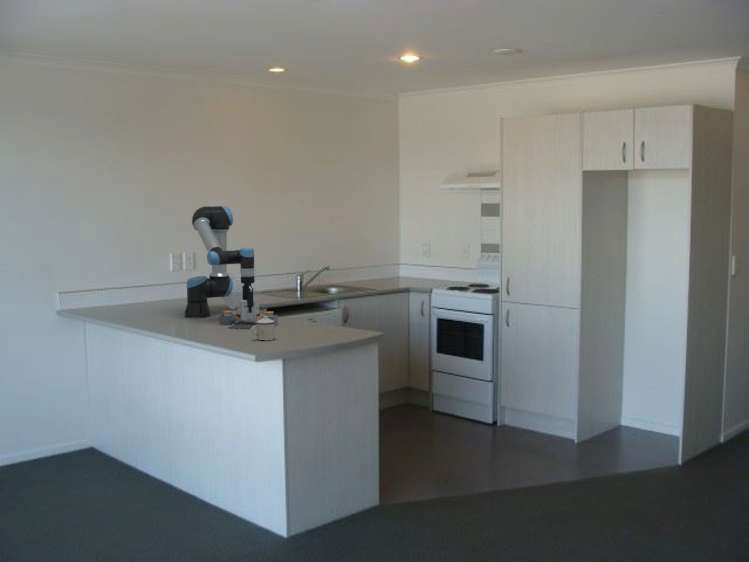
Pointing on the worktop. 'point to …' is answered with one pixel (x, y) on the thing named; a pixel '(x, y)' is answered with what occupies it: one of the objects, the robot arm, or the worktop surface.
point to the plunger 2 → (269, 314)
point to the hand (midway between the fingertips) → (248, 317)
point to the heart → (234, 292)
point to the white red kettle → (239, 310)
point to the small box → (244, 310)
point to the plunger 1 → (227, 313)
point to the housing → (232, 320)
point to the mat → (242, 326)
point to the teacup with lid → (265, 329)
